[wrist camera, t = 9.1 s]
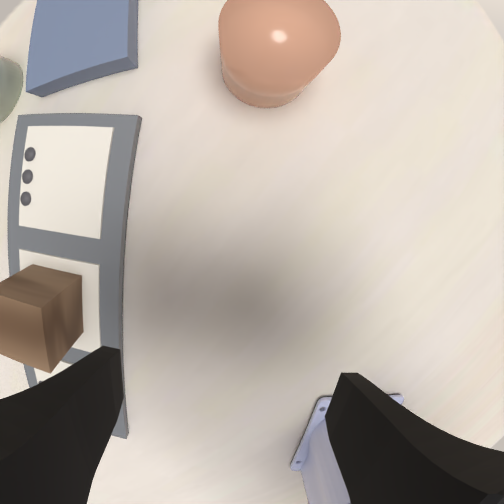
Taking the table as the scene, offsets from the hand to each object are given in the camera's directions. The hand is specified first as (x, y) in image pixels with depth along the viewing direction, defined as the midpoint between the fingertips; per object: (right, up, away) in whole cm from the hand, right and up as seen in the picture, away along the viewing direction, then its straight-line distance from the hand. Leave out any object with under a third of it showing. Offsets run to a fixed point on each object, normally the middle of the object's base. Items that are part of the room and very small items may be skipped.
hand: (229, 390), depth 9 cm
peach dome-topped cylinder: (+2, +15, +6) cm, 16 cm away
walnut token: (-12, +1, +8) cm, 14 cm away
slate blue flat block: (-10, +20, +5) cm, 23 cm away
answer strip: (-12, +1, +9) cm, 15 cm away
